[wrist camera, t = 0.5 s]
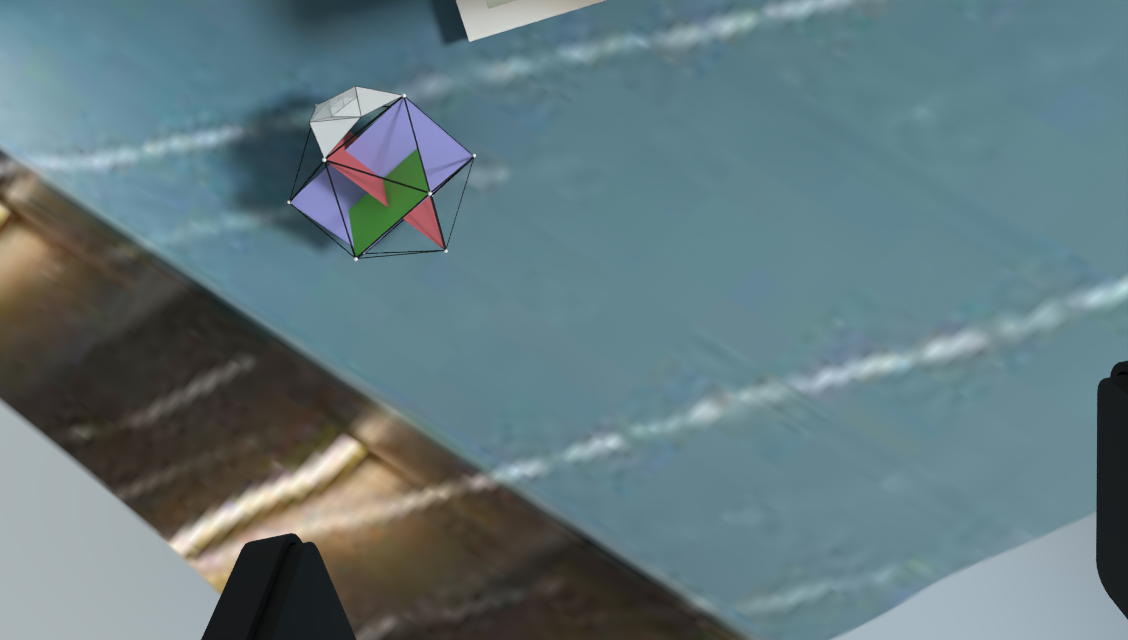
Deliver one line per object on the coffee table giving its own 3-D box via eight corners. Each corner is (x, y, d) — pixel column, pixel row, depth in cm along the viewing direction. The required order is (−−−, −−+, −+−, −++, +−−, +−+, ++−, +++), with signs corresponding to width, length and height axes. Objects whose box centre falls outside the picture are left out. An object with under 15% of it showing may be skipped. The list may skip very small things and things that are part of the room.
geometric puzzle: (529, 209, 41) (435, 174, 34) (417, 303, 43) (305, 290, 36) (446, 87, 43) (341, 29, 36) (343, 183, 45) (222, 146, 38)
